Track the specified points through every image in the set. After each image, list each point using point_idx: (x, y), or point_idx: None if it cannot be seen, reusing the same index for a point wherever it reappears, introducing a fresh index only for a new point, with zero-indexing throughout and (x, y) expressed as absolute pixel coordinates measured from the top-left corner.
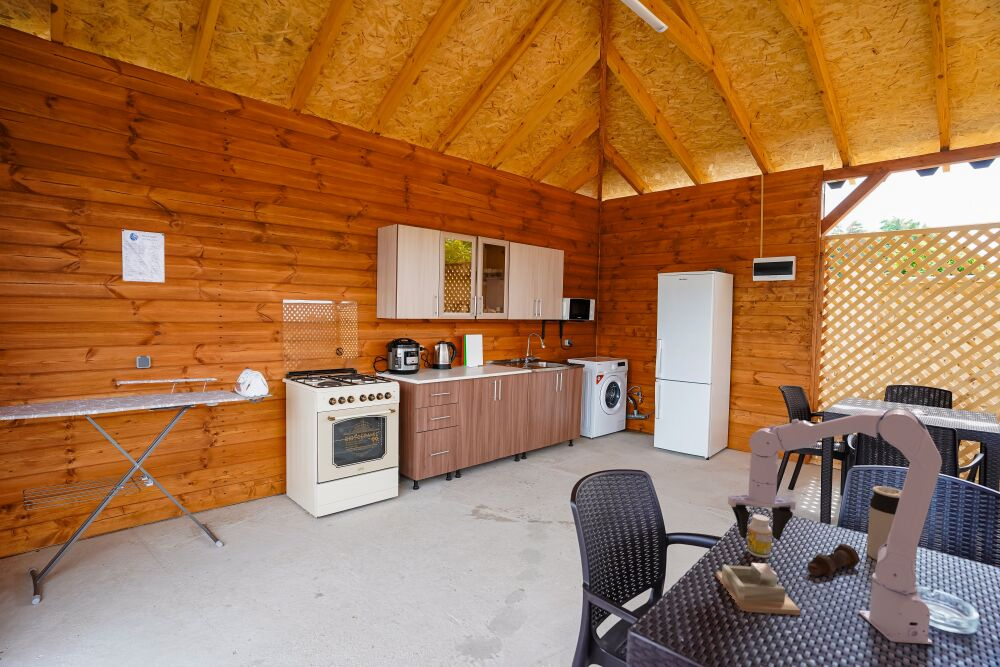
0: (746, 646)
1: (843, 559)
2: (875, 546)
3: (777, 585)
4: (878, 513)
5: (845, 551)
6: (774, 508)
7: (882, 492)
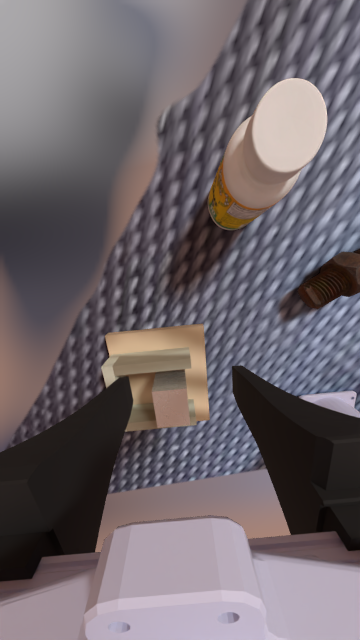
0: (115, 478)
1: None
2: None
3: (205, 360)
4: None
5: None
6: (309, 472)
7: None
